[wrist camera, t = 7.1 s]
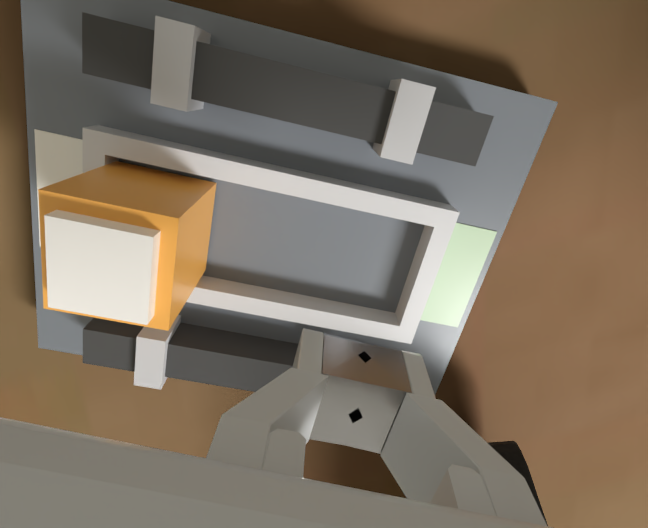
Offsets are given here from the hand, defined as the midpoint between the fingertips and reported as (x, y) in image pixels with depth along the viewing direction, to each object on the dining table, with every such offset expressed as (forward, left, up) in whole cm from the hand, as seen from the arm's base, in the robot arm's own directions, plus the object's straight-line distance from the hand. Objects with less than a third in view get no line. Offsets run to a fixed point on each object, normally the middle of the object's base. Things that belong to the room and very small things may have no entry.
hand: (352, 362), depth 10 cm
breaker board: (+3, 0, -11) cm, 11 cm away
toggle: (+7, 0, -9) cm, 11 cm away
